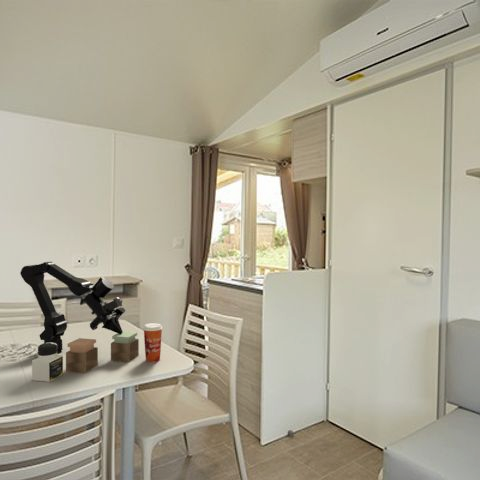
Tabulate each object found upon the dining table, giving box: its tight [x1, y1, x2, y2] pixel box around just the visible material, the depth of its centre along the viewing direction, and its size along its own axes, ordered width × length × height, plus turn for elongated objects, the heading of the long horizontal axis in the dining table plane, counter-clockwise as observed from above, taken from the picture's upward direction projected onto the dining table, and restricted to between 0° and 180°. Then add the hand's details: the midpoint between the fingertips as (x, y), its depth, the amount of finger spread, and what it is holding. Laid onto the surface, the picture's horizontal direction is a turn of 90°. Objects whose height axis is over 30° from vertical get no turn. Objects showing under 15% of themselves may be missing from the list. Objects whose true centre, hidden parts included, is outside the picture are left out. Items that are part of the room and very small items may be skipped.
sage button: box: [111, 331, 138, 344], centre depth 155 cm, size 7×7×7 cm
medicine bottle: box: [31, 342, 64, 383], centre depth 135 cm, size 7×7×12 cm
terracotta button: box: [67, 337, 97, 353], centre depth 144 cm, size 7×7×7 cm
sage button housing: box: [110, 338, 140, 363], centre depth 156 cm, size 8×8×7 cm
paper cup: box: [142, 322, 163, 363], centre depth 154 cm, size 8×8×14 cm
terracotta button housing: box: [65, 346, 99, 374], centre depth 144 cm, size 8×8×7 cm
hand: (121, 333), depth 156 cm, fingers closed, pressing on sage button
